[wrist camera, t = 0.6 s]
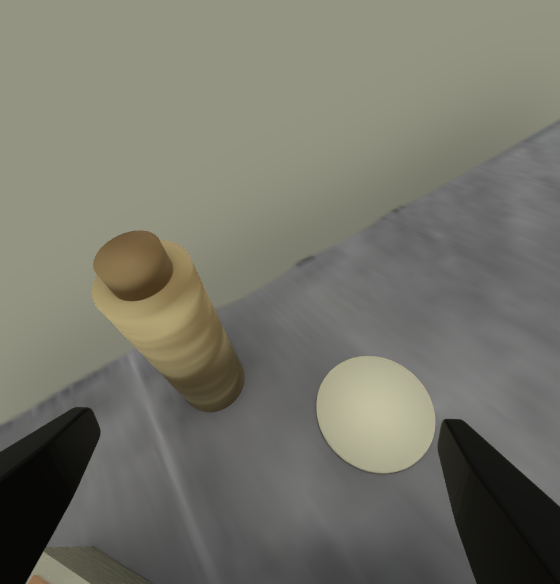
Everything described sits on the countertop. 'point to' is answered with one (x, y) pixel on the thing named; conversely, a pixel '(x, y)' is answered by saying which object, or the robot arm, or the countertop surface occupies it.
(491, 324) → the countertop surface
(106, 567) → the spice tin
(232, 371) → the pepper mill
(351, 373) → the coaster
